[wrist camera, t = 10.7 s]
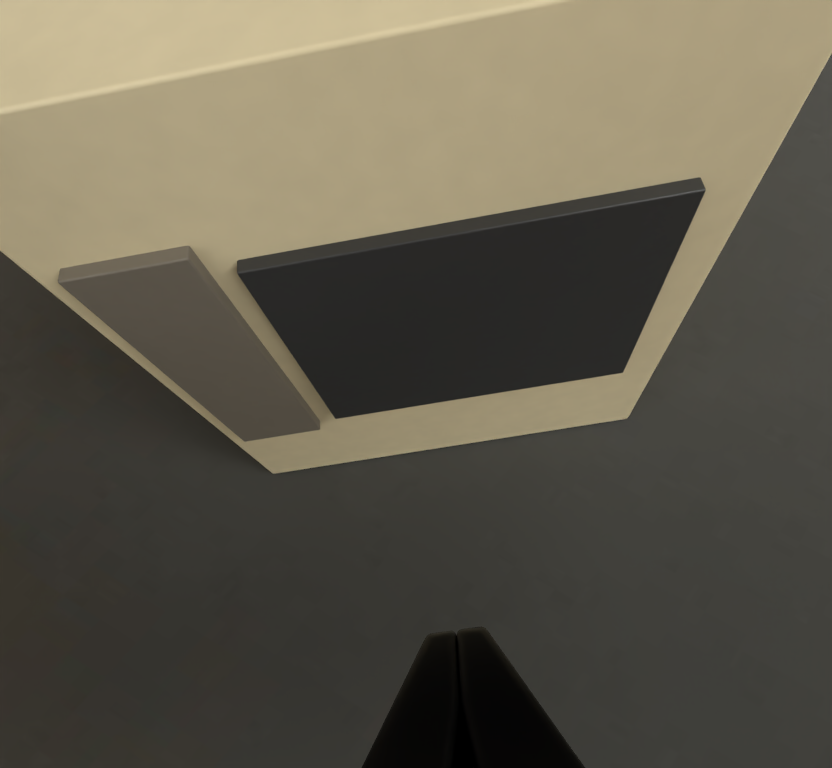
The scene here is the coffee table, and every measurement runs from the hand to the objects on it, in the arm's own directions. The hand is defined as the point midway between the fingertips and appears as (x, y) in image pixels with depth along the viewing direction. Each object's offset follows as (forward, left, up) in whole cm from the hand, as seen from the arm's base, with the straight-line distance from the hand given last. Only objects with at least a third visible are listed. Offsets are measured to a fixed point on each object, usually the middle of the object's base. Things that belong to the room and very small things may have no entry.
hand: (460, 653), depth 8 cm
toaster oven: (+11, +4, -8) cm, 14 cm away
